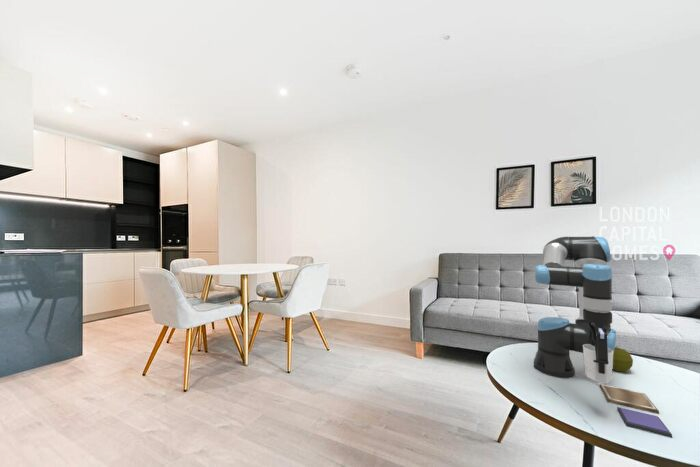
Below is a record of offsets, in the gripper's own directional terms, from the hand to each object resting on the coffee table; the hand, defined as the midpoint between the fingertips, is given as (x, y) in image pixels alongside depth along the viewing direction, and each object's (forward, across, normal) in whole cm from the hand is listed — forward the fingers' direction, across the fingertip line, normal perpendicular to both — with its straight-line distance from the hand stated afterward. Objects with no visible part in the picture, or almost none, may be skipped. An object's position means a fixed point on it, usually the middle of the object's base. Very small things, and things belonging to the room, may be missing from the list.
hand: (597, 376), depth 96 cm
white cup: (+1, 0, 0) cm, 1 cm away
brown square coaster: (+13, +16, -11) cm, 23 cm away
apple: (+13, +46, -15) cm, 50 cm away
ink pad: (+12, 0, -11) cm, 16 cm away
